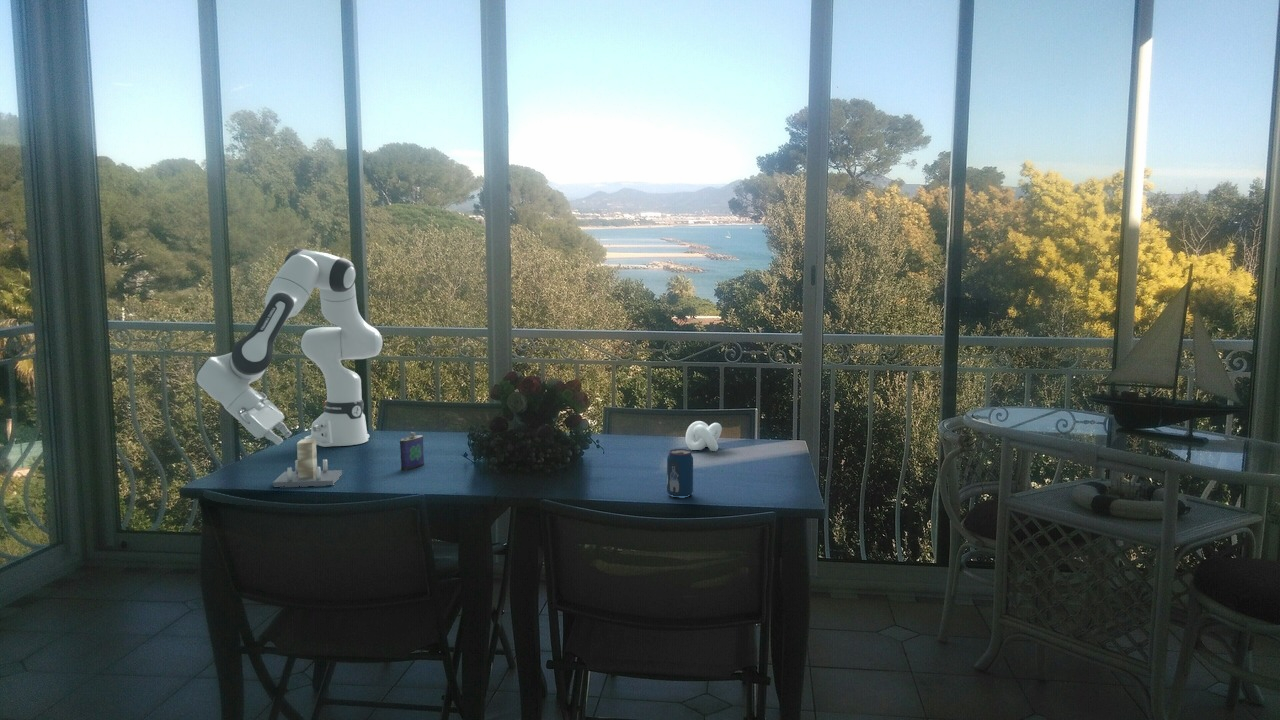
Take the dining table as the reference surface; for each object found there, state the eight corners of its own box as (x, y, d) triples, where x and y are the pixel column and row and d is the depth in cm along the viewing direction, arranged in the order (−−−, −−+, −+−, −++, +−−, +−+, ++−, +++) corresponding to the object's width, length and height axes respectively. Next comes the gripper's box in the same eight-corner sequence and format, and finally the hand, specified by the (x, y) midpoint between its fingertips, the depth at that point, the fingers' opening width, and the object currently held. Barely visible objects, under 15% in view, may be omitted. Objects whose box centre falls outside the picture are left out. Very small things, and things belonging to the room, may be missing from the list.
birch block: (298, 478, 257) (296, 443, 256) (302, 473, 262) (301, 439, 261) (313, 477, 258) (311, 442, 257) (317, 473, 263) (315, 439, 262)
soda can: (691, 491, 249) (692, 448, 248) (694, 499, 242) (694, 454, 241) (666, 492, 249) (666, 448, 247) (667, 499, 242) (667, 454, 241)
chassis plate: (273, 487, 253) (272, 469, 253) (284, 476, 265) (283, 459, 265) (333, 485, 255) (332, 468, 255) (341, 475, 267) (341, 458, 266)
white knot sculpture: (680, 452, 296) (680, 425, 295) (690, 444, 307) (690, 418, 306) (715, 455, 293) (715, 427, 291) (723, 447, 304) (723, 420, 303)
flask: (419, 463, 282) (418, 428, 280) (427, 464, 280) (426, 429, 279) (398, 469, 273) (397, 434, 272) (406, 471, 272) (405, 435, 271)
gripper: (243, 404, 245) (283, 439, 248) (264, 391, 265) (301, 424, 268) (227, 421, 245) (267, 455, 248) (249, 407, 265) (286, 439, 268)
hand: (285, 439), depth 258 cm, fingers open, 8 cm apart
